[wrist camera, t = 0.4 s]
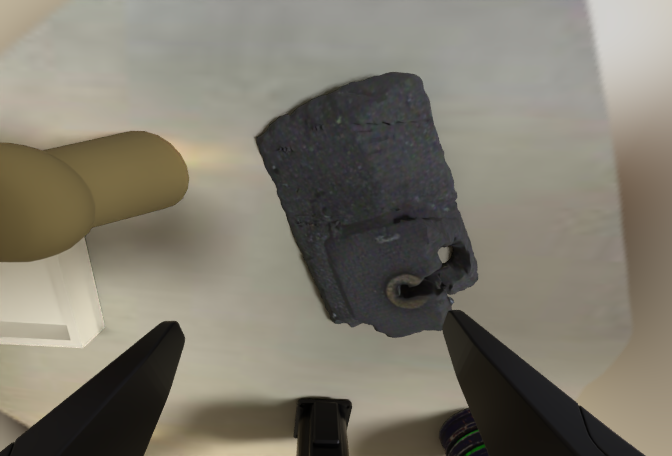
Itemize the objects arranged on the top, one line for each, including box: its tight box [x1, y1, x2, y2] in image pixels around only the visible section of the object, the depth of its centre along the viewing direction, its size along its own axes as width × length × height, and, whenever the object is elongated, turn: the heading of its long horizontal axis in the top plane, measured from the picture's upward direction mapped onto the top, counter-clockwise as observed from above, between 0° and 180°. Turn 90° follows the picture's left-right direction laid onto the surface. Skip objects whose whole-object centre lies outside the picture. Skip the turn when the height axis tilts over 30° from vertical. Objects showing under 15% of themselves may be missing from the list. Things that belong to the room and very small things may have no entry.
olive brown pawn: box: [0, 131, 189, 262], centre depth 15 cm, size 6×6×11 cm
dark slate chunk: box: [257, 72, 478, 338], centre depth 21 cm, size 15×22×5 cm
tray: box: [0, 237, 105, 348], centre depth 21 cm, size 11×11×2 cm
